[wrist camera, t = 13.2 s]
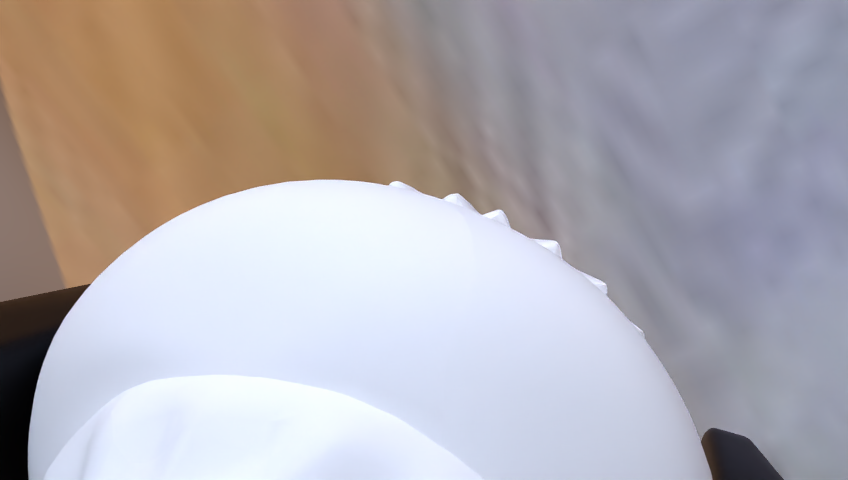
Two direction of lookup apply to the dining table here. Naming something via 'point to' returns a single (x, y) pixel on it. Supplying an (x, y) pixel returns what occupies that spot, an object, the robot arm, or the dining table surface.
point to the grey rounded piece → (352, 353)
